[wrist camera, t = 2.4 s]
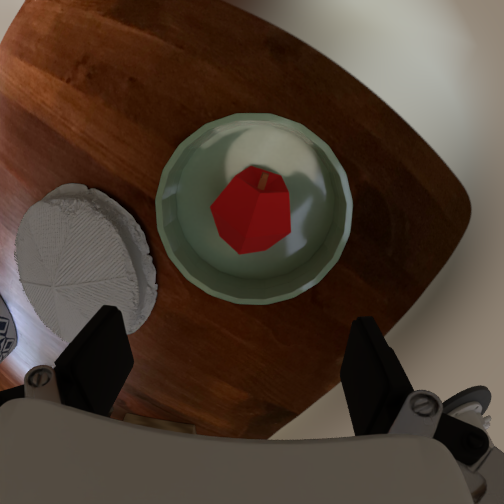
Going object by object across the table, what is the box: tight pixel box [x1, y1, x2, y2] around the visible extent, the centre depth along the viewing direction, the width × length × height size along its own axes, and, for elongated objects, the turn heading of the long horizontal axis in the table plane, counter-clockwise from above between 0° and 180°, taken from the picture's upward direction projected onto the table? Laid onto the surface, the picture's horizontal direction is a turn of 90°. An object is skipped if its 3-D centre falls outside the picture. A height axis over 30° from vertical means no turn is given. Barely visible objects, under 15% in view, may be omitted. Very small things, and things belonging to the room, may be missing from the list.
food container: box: [14, 183, 158, 343], centre depth 27 cm, size 20×20×7 cm
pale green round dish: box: [155, 113, 353, 305], centre depth 25 cm, size 16×16×4 cm
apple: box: [210, 166, 291, 255], centre depth 24 cm, size 7×7×8 cm
